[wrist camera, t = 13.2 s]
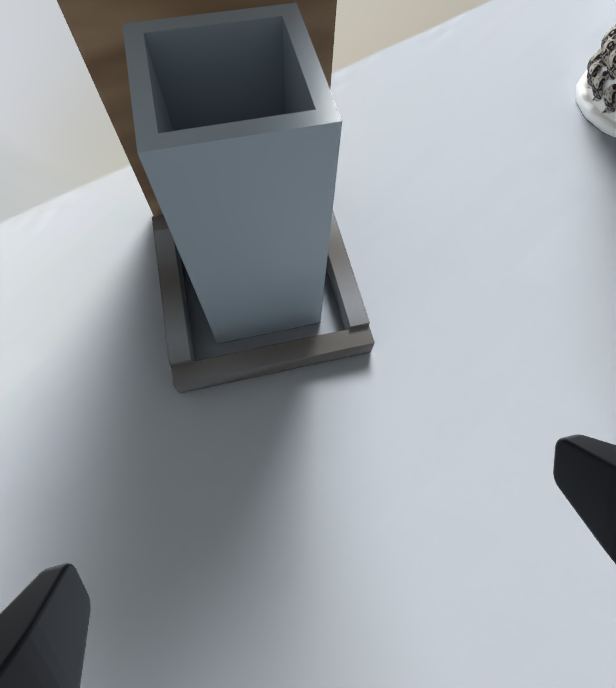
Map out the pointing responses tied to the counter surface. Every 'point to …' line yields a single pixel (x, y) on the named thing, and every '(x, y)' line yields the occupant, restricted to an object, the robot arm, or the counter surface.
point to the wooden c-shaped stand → (113, 87)
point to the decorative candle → (600, 86)
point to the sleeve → (239, 159)
